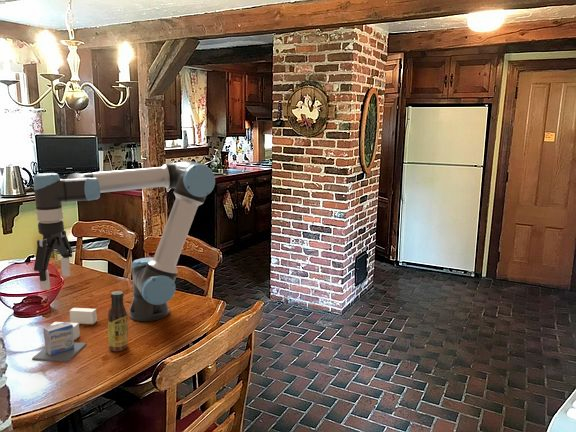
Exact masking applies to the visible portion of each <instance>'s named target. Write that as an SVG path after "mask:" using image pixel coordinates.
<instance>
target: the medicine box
mask: <svg viewBox="0 0 576 432" xmlns="http://www.w3.org/2000/svg"><path fill="white" fill-rule="evenodd" d="M43 339H44V348H45V351H46V352H47V353H48V354H49V355H50V356H53V355H56V354H59V353H62V352H65V351H68V350H71V349H74V342H75V340H74V335H73V325H72V324H71V323H70V321H65V322H64V323H60V324H57V325H53V326H50V325H49V326H46V327H43Z"/></svg>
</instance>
